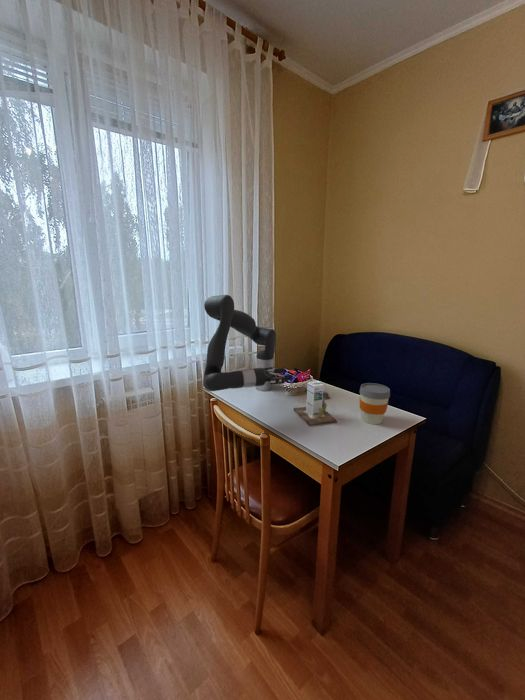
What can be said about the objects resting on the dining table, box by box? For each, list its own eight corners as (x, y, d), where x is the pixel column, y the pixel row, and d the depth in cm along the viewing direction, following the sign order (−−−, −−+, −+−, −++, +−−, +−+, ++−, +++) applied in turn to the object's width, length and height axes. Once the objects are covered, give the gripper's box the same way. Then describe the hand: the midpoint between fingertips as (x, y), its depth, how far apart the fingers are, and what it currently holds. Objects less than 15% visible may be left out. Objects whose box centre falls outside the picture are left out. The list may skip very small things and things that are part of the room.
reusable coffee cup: (350, 416, 143) (353, 385, 139) (369, 411, 149) (373, 381, 145) (372, 428, 132) (377, 395, 129) (392, 422, 139) (397, 390, 135)
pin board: (293, 410, 147) (294, 399, 146) (318, 407, 152) (319, 396, 150) (309, 426, 133) (310, 414, 131) (336, 422, 137) (337, 410, 136)
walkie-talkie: (301, 392, 171) (323, 407, 153) (302, 384, 170) (324, 398, 152) (315, 390, 174) (338, 404, 157) (315, 382, 173) (339, 395, 156)
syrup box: (312, 417, 138) (314, 386, 135) (305, 411, 144) (307, 381, 140) (323, 415, 140) (325, 384, 137) (316, 409, 146) (318, 380, 142)
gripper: (257, 374, 124) (295, 370, 129) (247, 364, 137) (281, 360, 142) (257, 392, 126) (294, 387, 132) (247, 380, 139) (281, 376, 144)
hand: (287, 373), depth 137 cm, fingers open, 8 cm apart
